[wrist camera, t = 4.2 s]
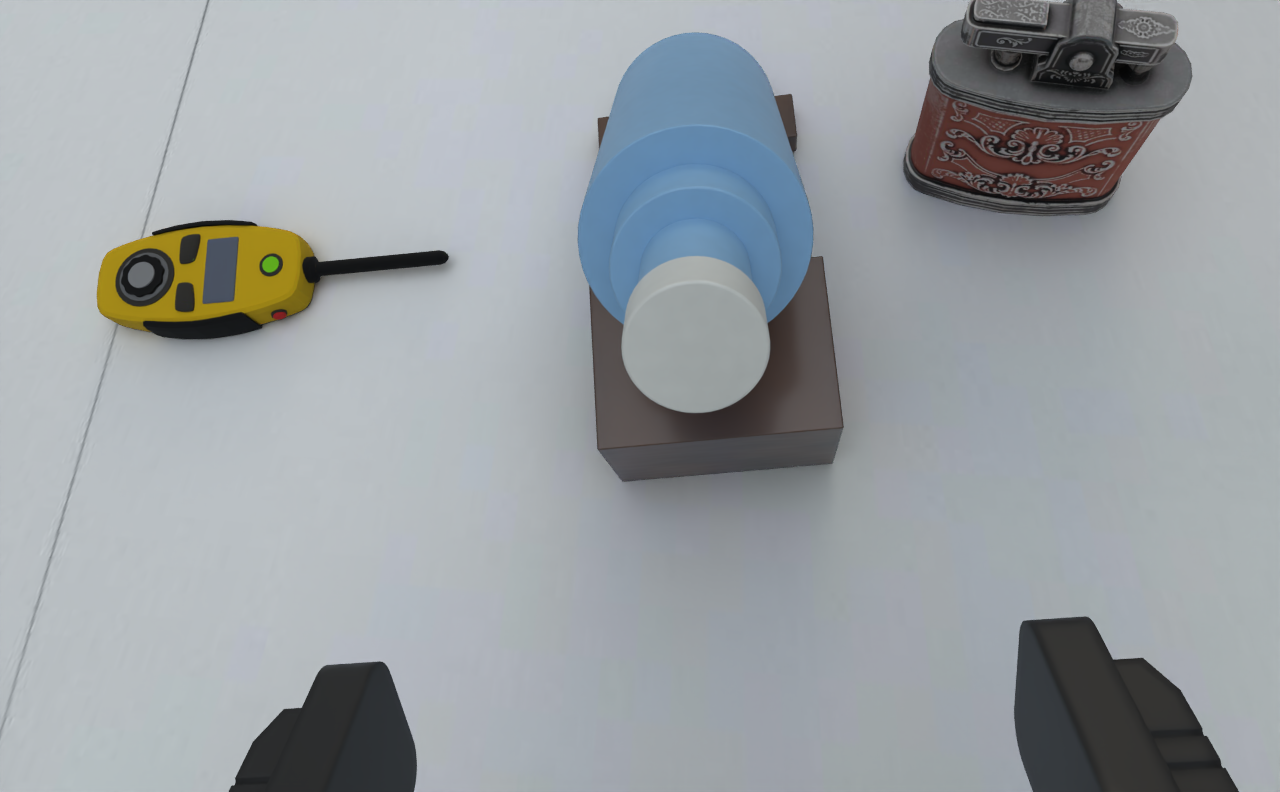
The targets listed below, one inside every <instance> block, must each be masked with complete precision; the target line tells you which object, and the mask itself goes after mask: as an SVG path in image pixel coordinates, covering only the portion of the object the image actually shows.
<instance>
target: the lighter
mask: <svg viewBox="0 0 1280 792" xmlns="http://www.w3.org/2000/svg"><path fill="white" fill-rule="evenodd" d="M1177 35H1178V22H1177V20H1176V18H1175V17H1174V16H1172V15H1170V14H1167V13H1162V12H1153V11H1142V10H1132V9H1123V7H1122V6H1121V5H1120V4H1118V3H1117V0H1067V1H1064V2H1063V3H1058V2H1048V1H1038V0H970V2H969V4H968V7H967V10H966V14H965V17H964V19H962V20H958V21H954V22H953V23H951V24H950V25H948V26H946V27H945V28H944V29H943V30H942V31H941V33H940V34H939V35H938V36H937V38H936V40H935V43H934V46H933V49H932V53H931V57H930V61H929V74H930V81H929V85H928V88H927V92H926V96H925V100H924V103H923V107H922V111H921V115H920V118H919V122H918V126H917V130H916V133H915V134H914V136H913V137H912V138H911V139H910V141H909V144H908V147H907V150H906V154H905V157H904V174H905V176H906V179H907V181H908V182H909V183H910V185H911V186H912V187H913V188H914V189H916V190H918V191H920V192H922V193H924V194H928V195H931V196H934V197H937V198H941V199H944V200H947V201H950V202H954V203H957V204H960V205H965V206H970V207H975V208H980V209H986V210H991V211H996V212H1001V213H1014V214H1028V215H1043V216H1048V215H1077V214H1089V213H1093V212H1097V211H1098V210H1100V209H1101V208H1103V207H1104V206H1105V205H1106V204H1107V202H1108V201H1109V200H1110V198H1111V197H1112V196H1113V194H1114V193H1115V191H1116V190H1117V189H1118V187H1119V184H1120V180H1121V177H1122V176H1121V175H1122V173H1123V172H1124V170H1125V169H1126V167H1127V166H1128V165H1129V163H1130V162H1131V160H1132V159H1133V157H1134V156H1135V155H1136V153H1137V152H1138V150H1139V149H1140V147H1141V146H1142V145H1143V143H1144V142H1145V140H1146V139H1147V137H1148V136H1149V135H1150V133H1151V132H1152V130H1153V129H1154V127H1155V126H1156V125H1157V123H1158V122H1159V120H1160V119H1161V118H1163V117H1164V116H1166V115H1167V114H1169V113H1171V112H1172V111H1173V110H1174V108H1175V107H1176V106H1177V104H1178V103H1179V102H1180V100H1181V99H1182V97H1183V96H1184V95H1185V93H1186V92H1187V90H1188V89H1189V86H1190V83H1191V79H1192V68H1191V63H1190V61H1189V59H1188V57H1187V55H1186V53H1185V51H1184V50H1182V49H1181V48H1180V47H1179V46H1178V45H1177V44H1176V43H1174V42H1175V41H1176V38H1177Z"/></svg>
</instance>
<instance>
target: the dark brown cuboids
mask: <svg viewBox="0 0 1280 792" xmlns="http://www.w3.org/2000/svg"><path fill="white" fill-rule="evenodd" d="M774 97H775V100H776V103H777V106H778V110H779V113H780V116H781V119H782V122H783V125H784V128H785V131H786V134H787V137H788V141H789V144H790V147H791V150H792V151H795V150H796V143H797V132H796V124H795V116H794V107H793V99H792V95H791V94H787V95H779V96H774ZM608 119H609V117H603V118H598V135H599V149H600V146H601V142H602V139H603V136H604V132H605V129H606V126H607V123H608ZM589 290H590V310H591V330H592V350H593V369H594V389H595V409H596V429H597V449H598V450H599V452H600V453H601V454H602V456H603V457H604V458H605V460H606V461H607V462H608V463H609V465H610V466H611V467H612V469H613V470H614V471H615V473H616V474H617V475H618V476H619V478H620V479H621V480H622V481H633V480H645V479H657V478H669V477H680V476H692V475H704V474H715V473H727V472H739V471H751V470H762V469H774V468H786V467H797V466H809V465H821V464H832V463H833V461H834V458H835V454H836V451H837V447H838V444H839V441H840V437H841V434H842V431H843V427H844V426H843V418H842V410H841V401H840V393H839V385H838V377H837V369H836V361H835V353H834V344H833V336H832V328H831V320H830V312H829V304H828V295H827V287H826V279H825V271H824V263H823V257H822V256H820V257H811V259H810V262H809V266H808V269H807V272H806V275H805V277H804V279H803V281H802V283H801V286H800V287H799V289H798V290H797V292H796V294H795V295H794V297H793V298H792V299H791V301H790V302H789V303H788V304H787V306H786V307H785V308H784V309H783V310H782V311H781V312H780V313H779V314H778V315H777V316H776V317H775V318H774V319H773V320H771V321H770V322H768V323H767V324H768V330H769V337H770V355H769V360H768V364H767V367H766V369H765V371H764V374H763V376H762V377H761V379H760V380H759V382H758V383H757V384H756V386H755V387H754V388H753V389H752V390H751V391H750V392H749V393H748V394H747V395H746V396H745V397H743V398H742V399H740V400H739V401H737V402H736V403H734V404H732V405H730V406H728V407H725V408H723V409H720V410H716V411H712V412H705V413H685V412H680V411H675V410H672V409H669V408H666V407H664V406H661V405H659V404H657V403H656V402H654V401H652V400H651V399H649V398H648V397H647V396H646V395H644V394H643V393H642V392H641V391H640V390H639V389H638V388H637V387H636V385H635V384H634V383H633V381H632V380H631V378H630V376H629V375H628V373H627V371H626V368H625V365H624V362H623V358H622V349H621V344H622V334H623V327H624V325H623V324H622V323H621V322H620V321H618V320H617V319H616V318H615V317H613V316H612V315H611V314H610V313H609V312H608V310H607V309H606V308H605V307H604V306H603V305H602V304H601V302H600V301H599V300H598V298H597V297H596V296H595V294H594V292H593V290H592V289H591V287H590V285H589Z"/></svg>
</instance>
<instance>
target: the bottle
mask: <svg viewBox="0 0 1280 792" xmlns="http://www.w3.org/2000/svg"><path fill="white" fill-rule="evenodd" d="M812 247H813V222H812V214H811V211H810V207H809V203H808V199H807V196H806V193H805V190H804V187H803V184H802V181H801V178H800V175H799V172H798V168H797V165H796V162H795V159H794V156H793V153H792V150H791V147H790V144H789V141H788V137H787V134H786V131H785V128H784V125H783V122H782V119H781V116H780V113H779V110H778V106H777V103H776V100H775V97H774V94H773V91H772V88H771V85H770V83H769V80H768V78H767V76H766V74H765V73H764V71H763V69H762V67H761V66H760V65H759V64H758V62H757V61H756V60H755V59H754V58H753V57H752V56H751V55H750V54H749V53H748V52H747V51H746V50H745V49H743V48H742V47H740V46H739V45H738V44H736V43H734V42H732V41H730V40H728V39H726V38H723V37H720V36H717V35H712V34H708V33H684V34H679V35H674V36H671V37H668V38H665V39H663V40H661V41H659V42H657V43H655V44H653V45H652V46H650V47H649V48H647V49H646V50H645V51H643V52H642V53H641V54H640V55H639V56H638V57H637V58H636V59H635V60H634V61H633V63H632V64H631V65H630V66H629V68H628V69H627V71H626V72H625V74H624V75H623V78H622V80H621V82H620V84H619V87H618V90H617V93H616V96H615V99H614V103H613V106H612V109H611V113H610V116H609V119H608V123H607V126H606V129H605V132H604V136H603V139H602V142H601V146H600V149H599V152H598V156H597V159H596V162H595V166H594V169H593V172H592V176H591V179H590V182H589V186H588V189H587V192H586V196H585V199H584V202H583V206H582V209H581V213H580V219H579V224H578V248H579V256H580V260H581V264H582V268H583V271H584V274H585V276H586V279H587V281H588V283H589V285H590V287H591V289H592V290H593V292H594V294H595V296H596V297H597V298H598V300H599V301H600V302H601V304H602V305H603V306H604V307H605V308H606V309H607V310H608V312H609V313H610V314H611V315H612V316H613V317H615V318H616V319H617V320H618V321H620V322H621V323H622V324H623V325H624V327H623V334H622V344H621V349H622V358H623V362H624V365H625V368H626V371H627V373H628V375H629V376H630V378H631V380H632V381H633V383H634V384H635V385H636V387H637V388H638V389H639V390H640V391H641V392H642V393H643V394H644V395H646V396H647V397H648V398H649V399H651V400H652V401H654V402H656V403H657V404H659V405H661V406H664V407H666V408H669V409H672V410H675V411H680V412H685V413H705V412H712V411H716V410H720V409H723V408H725V407H728V406H730V405H732V404H734V403H736V402H737V401H739V400H740V399H742V398H743V397H745V396H746V395H747V394H748V393H749V392H750V391H751V390H752V389H753V388H754V387H755V386H756V384H757V383H758V382H759V380H760V379H761V377H762V376H763V374H764V371H765V369H766V367H767V364H768V360H769V355H770V337H769V330H768V324H767V323H768V322H770V321H771V320H773V319H774V318H775V317H776V316H777V315H778V314H779V313H780V312H781V311H782V310H783V309H784V308H785V307H786V306H787V304H788V303H789V302H790V301H791V299H792V298H793V297H794V295H795V294H796V292H797V290H798V289H799V287H800V286H801V283H802V281H803V279H804V277H805V275H806V272H807V269H808V266H809V262H810V259H811V254H812Z"/></svg>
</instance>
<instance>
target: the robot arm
mask: <svg viewBox="0 0 1280 792" xmlns="http://www.w3.org/2000/svg"><path fill="white" fill-rule="evenodd" d="M1014 719H1015V729H1016V736H1017V742H1018V747H1019V751H1020V755H1021V759H1022V762H1023V765H1024V768H1025V771H1026V773H1027V776H1028V779H1029V782H1030V784H1031V787H1032V790H1033V792H1239V791H1238V789H1237V787H1236V786H1235V784H1234V782H1233V781H1232V779H1231V777H1230V775H1229V774H1228V772H1227V770H1226V768H1222V766H1221V760H1220V758H1219V756H1218V755H1217V753H1216V751H1215V749H1214V748H1213V746H1212V744H1211V742H1210V741H1209V739H1208V737H1207V736H1204V735H1203V732H1202V727H1201V725H1200V723H1199V722H1198V720H1197V718H1196V716H1195V715H1194V713H1193V711H1192V709H1191V708H1190V706H1189V704H1188V703H1187V701H1186V699H1185V697H1184V696H1183V694H1182V692H1181V690H1180V689H1179V688H1177V687H1176V686H1175V685H1174V684H1173V683H1172V682H1170V681H1169V680H1168V679H1167V678H1166V677H1164V676H1163V675H1162V674H1161V673H1160V672H1159V671H1157V670H1156V669H1155V668H1154V667H1153V666H1152V665H1150V664H1149V663H1148V662H1147V661H1146V660H1144V659H1143V658H1134V659H1118V660H1113V659H1112V657H1111V655H1110V653H1109V651H1108V649H1107V647H1106V645H1105V643H1104V641H1103V639H1102V637H1101V635H1100V634H1099V632H1098V630H1097V628H1096V626H1095V624H1094V623H1093V621H1092V620H1091V619H1090V618H1088V617H1072V618H1057V619H1042V620H1027V621H1023V622H1022V624H1021V627H1020V633H1019V647H1018V661H1017V676H1016V691H1015V705H1014ZM416 772H417V760H416V749H415V744H414V741H413V738H412V735H411V732H410V729H409V726H408V723H407V720H406V717H405V714H404V711H403V708H402V706H401V703H400V700H399V697H398V694H397V691H396V688H395V685H394V682H393V679H392V677H391V674H390V671H389V669H388V667H387V666H386V665H385V663H383V662H367V663H352V664H337V665H326V666H324V667H323V668H321V670H320V671H319V672H318V674H317V676H316V678H315V680H314V682H313V685H312V687H311V689H310V691H309V693H308V696H307V698H306V700H305V702H304V704H303V707H302V708H294V709H284V710H283V711H282V712H281V713H280V714H279V715H278V716H277V717H276V718H275V719H274V720H273V721H272V722H271V723H270V725H269V726H268V727H267V728H266V729H265V730H264V731H263V732H262V733H261V734H260V735H259V736H258V737H257V738H256V739H255V740H254V741H253V743H252V745H251V747H250V749H249V751H248V753H247V755H246V757H245V759H244V761H243V764H242V766H241V768H240V770H239V772H238V774H237V776H236V778H235V780H236V783H235V786H231V788H230V790H229V792H414V788H415V783H416Z"/></svg>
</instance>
